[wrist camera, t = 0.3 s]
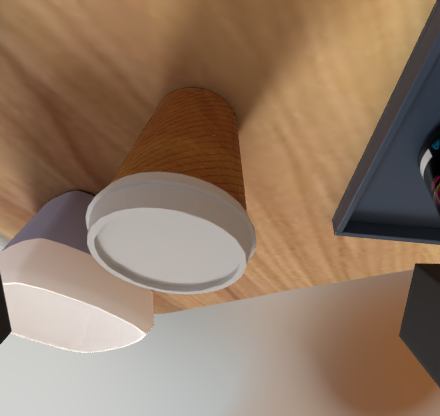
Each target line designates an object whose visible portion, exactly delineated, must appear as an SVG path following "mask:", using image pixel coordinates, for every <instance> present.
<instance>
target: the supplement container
mask: <svg viewBox="0 0 440 416" xmlns="http://www.w3.org/2000/svg"><path fill="white" fill-rule="evenodd" d="M417 165H418V168H419V171H420V173H421V175H422V178H423V180H424V182H425V185H426V187H427V189H428V192H429V194H430V196H431V199H432V201H433V203H434V206H435V208H436V210H437V213H438V215H439V217H440V126H439V127H437V128H436V129H435V130H434V131H433V132H432V133H431V134H430V135H429V136H428V137H427V138H426V139H425V141H424V142H423V144H422V145H421V147H420V150H419V153H418V158H417Z"/></svg>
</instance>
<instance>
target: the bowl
mask: <svg viewBox="0 0 440 416" xmlns="http://www.w3.org/2000/svg"><path fill="white" fill-rule="evenodd" d="M94 197H95V196H93V195H90V194H87V193H84V192H81V191H71V192H66V193H64V194H62V195H60V196H58V197H55V198H53V199H52V200H50V201H49V202H47V203H46V204H45V205H44V206H43V207H42V208H41V209H40V210H39V211H38V212H37V213H36V215H35V216H34V217H33V218H32V219H31V220H30V221H29V222H28V223H27V224H26V225H25V226H24V227H23V228H22V230H21V231H20V232H19V233H18V234H17V235H16V236H15V237H14V238H13V239H12V240H11V241H10V242H9V243H8V245H7V246H6V247H5V248H4V249H3V250H2V251H1V252H0V274H1V279H2V284H3V289H4V294H5V299H6V304H7V309H8V314H9V320H10V325H11V330H12V332H11V334H14V335H17V336H20V337H23V338H26V339H29V340H33V341H36V342H40V343H43V344H46V345H51V346H54V347H57V348H61V349H66V350H70V351H75V352H79V353H89V352H90V353H91V352H101V351H108V350H113V349H118V348H122V347H125V346H128V345H131V344H134V343H136V342H138V341H140V340H141V339H143V337H144V336H145V335H146V334H147V333H148V332H149V331H150V330H151V328H152V327H153V325H154V310H153V290H151V289H146V288H143V287H140V286H137V285H134V284H132V283H129V282H127V281H124V280H123V279H121V278H119V277H117V276H115V275H113V274H112V273H110V272H109V271H107V270H106V269H105V268H104V267H102V266H101V265H100V264H99V263H98V262H97V261H96V260H95V258H94V257H93V256H92V254H91V253H90V250H89V248H88V245H87V234H88V229H87V226H86V218H85V217H86V213H87V209H88V206H89V204H90V203H91V201H92V200H93V198H94Z"/></svg>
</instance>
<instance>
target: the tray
mask: <svg viewBox="0 0 440 416" xmlns="http://www.w3.org/2000/svg"><path fill="white" fill-rule="evenodd" d="M439 126H440V0H437V2H436V4H435V6H434V8H433V10H432V12H431V14H430V16H429V18H428V20H427V22H426V24H425V27H424V29H423V31H422V33H421V35H420V37H419V39H418V41H417V43H416V45H415V47H414V50H413V52H412V54H411V56H410V58H409V60H408V62H407V64H406V66H405V68H404V70H403V72H402V75H401V77H400V79H399V81H398V83H397V85H396V87H395V89H394V91H393V93H392V95H391V98H390V100H389V102H388V104H387V106H386V108H385V110H384V112H383V114H382V116H381V118H380V121H379V123H378V125H377V127H376V129H375V131H374V133H373V135H372V137H371V139H370V141H369V143H368V146H367V148H366V150H365V152H364V154H363V156H362V158H361V160H360V162H359V164H358V166H357V169H356V171H355V173H354V175H353V177H352V179H351V181H350V183H349V185H348V187H347V189H346V191H345V194H344V196H343V198H342V200H341V202H340V204H339V206H338V208H337V210H336V212H335V214H334V217H333V219H332V223H333V229H334V235H338V236H349V237H360V238H371V239H382V240H393V241H404V242H415V243H426V244H437V245H440V217H439V215H438V213H437V210H436V208H435V206H434V203H433V201H432V199H431V196H430V194H429V192H428V189H427V187H426V185H425V182H424V180H423V178H422V175H421V173H420V171H419V168H418V165H417V158H418V153H419V150H420V147H421V145H422V144H423V142H424V141H425V139H426V138H427V137H428V136H429V135H430V134H431V133H432V132H433V131H434V130H435V129H436V128H437V127H439Z"/></svg>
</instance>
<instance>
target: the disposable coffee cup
mask: <svg viewBox="0 0 440 416" xmlns="http://www.w3.org/2000/svg"><path fill="white" fill-rule="evenodd" d="M246 210H247V209H246V203H245V191H244V183H243V174H242V165H241V156H240V148H239V138H238V129H237V120H236V116H235V113H234V112H233V110H232V108H231V107H230V105H229V104H228V103H227V102H226V101H225V100H224V99H223V98H221V97H220V96H219V95H217V94H215V93H213V92H211V91H208V90H204V89H200V88H183V89H179V90H176V91H174V92H172V93H170V94H168V95H167V96H166V97H165V98H163V100H162V101H161V103H160V104H159V106H158V107H157V109H156V111H155V112H154V114H153V116H152V117H151V119H150V120H149V122H148V124H147V125H146V127H145V128H144V130H143V132H142V133H141V134H140V136H139V138H138V140H137V141H136V143H135V145H134V146H133V148H132V149H131V151H130V153H129V154H128V156H127V158H126V159H125V161H124V162H123V164H122V166H121V167H120V169H119V170H118V172H117V174H116V175H115V177H114V178H113V181H112V182H111V184H110V185H108V186H107V187H106V188H104V189H103V190H102V191H101V192H99V193H98V194H97V195H96V196H95V197H94V198H93V200H92V201H91V203H90V204H89V206H88V209H87V213H86V217H85V218H86V226H87V229H88V234H87V245H88V248H89V250H90V253H91V254H92V256H93V257H94V258H95V260H96V261H97V262H98V263H99V264H100V265H101V266H102V267H104V268H105V269H106V270H107V271H109V272H110V273H112V274H113V275H115V276H117V277H119V278H121V279H123V280H124V281H127V282H129V283H132V284H134V285H137V286H140V287H143V288H146V289H151V290H156V291H161V292H166V293H174V294H199V293H207V292H212V291H217V290H220V289H222V288H225V287H227V286H229V285H231V284H233V283H234V282H235V281H237V280H238V279H239V278H240V277H241V276H242V274H243V272H244V270H245V268H246V266H247V262H248V261H249V259H250V258H251V257H252V256H253V254H254V251H255V248H256V234H255V230H254V226H253V224H252V223H251V221H250V219H249V217H248V214H247V211H246Z"/></svg>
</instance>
